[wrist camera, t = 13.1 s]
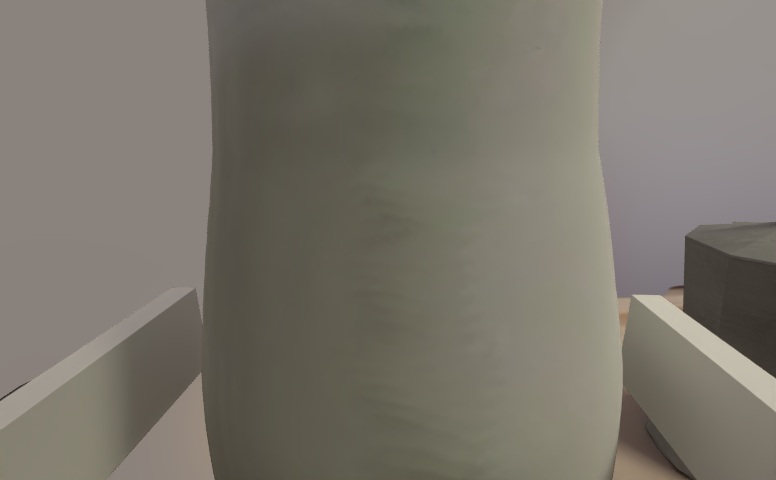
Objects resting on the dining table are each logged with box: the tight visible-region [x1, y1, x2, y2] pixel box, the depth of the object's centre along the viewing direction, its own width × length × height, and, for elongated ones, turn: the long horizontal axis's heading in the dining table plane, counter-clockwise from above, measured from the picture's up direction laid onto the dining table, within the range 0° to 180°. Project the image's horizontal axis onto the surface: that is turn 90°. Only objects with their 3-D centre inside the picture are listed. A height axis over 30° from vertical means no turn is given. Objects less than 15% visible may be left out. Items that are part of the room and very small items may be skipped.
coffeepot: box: [645, 222, 776, 480], centre depth 23 cm, size 15×9×18 cm, turn 153°
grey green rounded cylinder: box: [202, 0, 623, 480], centre depth 11 cm, size 10×10×28 cm
